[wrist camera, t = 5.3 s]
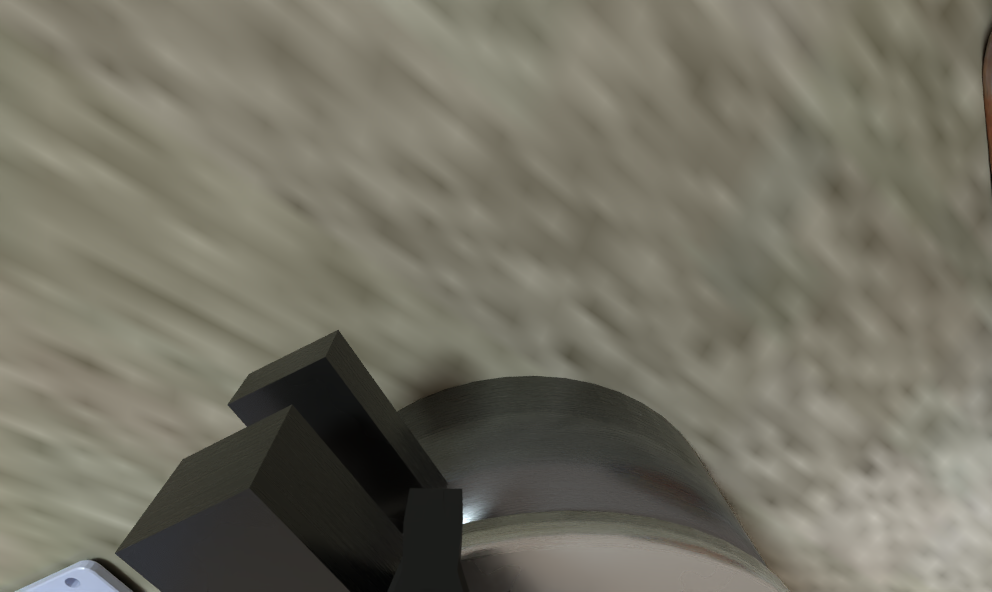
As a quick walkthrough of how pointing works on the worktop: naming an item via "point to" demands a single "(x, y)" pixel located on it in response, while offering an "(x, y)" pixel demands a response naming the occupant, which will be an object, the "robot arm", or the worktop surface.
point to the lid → (391, 533)
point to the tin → (988, 92)
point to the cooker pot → (495, 443)
